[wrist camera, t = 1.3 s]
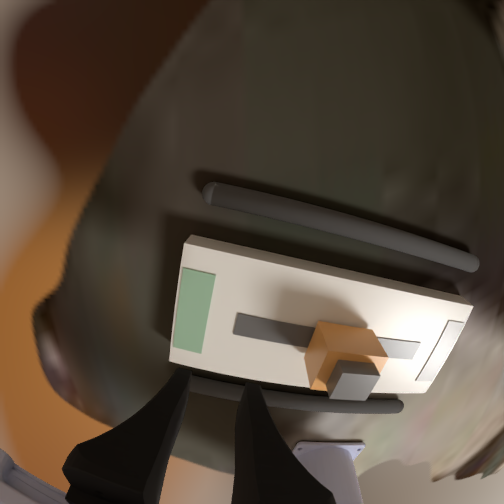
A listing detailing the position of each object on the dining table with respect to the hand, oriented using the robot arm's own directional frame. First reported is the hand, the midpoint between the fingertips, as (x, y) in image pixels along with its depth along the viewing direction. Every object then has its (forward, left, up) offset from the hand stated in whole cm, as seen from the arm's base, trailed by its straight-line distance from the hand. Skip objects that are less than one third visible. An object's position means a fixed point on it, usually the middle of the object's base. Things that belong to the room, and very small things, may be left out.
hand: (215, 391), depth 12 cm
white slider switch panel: (0, -8, -8) cm, 11 cm away
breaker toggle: (0, -8, -6) cm, 10 cm away
